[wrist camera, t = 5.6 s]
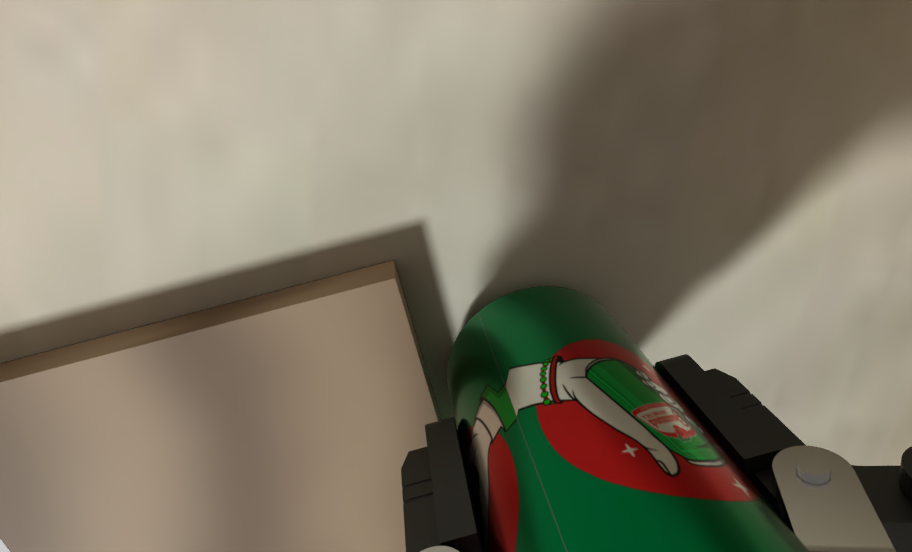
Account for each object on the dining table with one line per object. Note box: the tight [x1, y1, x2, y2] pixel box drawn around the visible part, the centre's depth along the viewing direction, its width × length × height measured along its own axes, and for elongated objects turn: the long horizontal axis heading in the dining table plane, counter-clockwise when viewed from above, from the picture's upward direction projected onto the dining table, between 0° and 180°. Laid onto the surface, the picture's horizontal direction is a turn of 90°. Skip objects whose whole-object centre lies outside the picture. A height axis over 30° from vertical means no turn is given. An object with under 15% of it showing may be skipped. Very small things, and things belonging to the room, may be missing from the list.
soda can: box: [447, 286, 809, 552], centre depth 11 cm, size 5×5×12 cm
